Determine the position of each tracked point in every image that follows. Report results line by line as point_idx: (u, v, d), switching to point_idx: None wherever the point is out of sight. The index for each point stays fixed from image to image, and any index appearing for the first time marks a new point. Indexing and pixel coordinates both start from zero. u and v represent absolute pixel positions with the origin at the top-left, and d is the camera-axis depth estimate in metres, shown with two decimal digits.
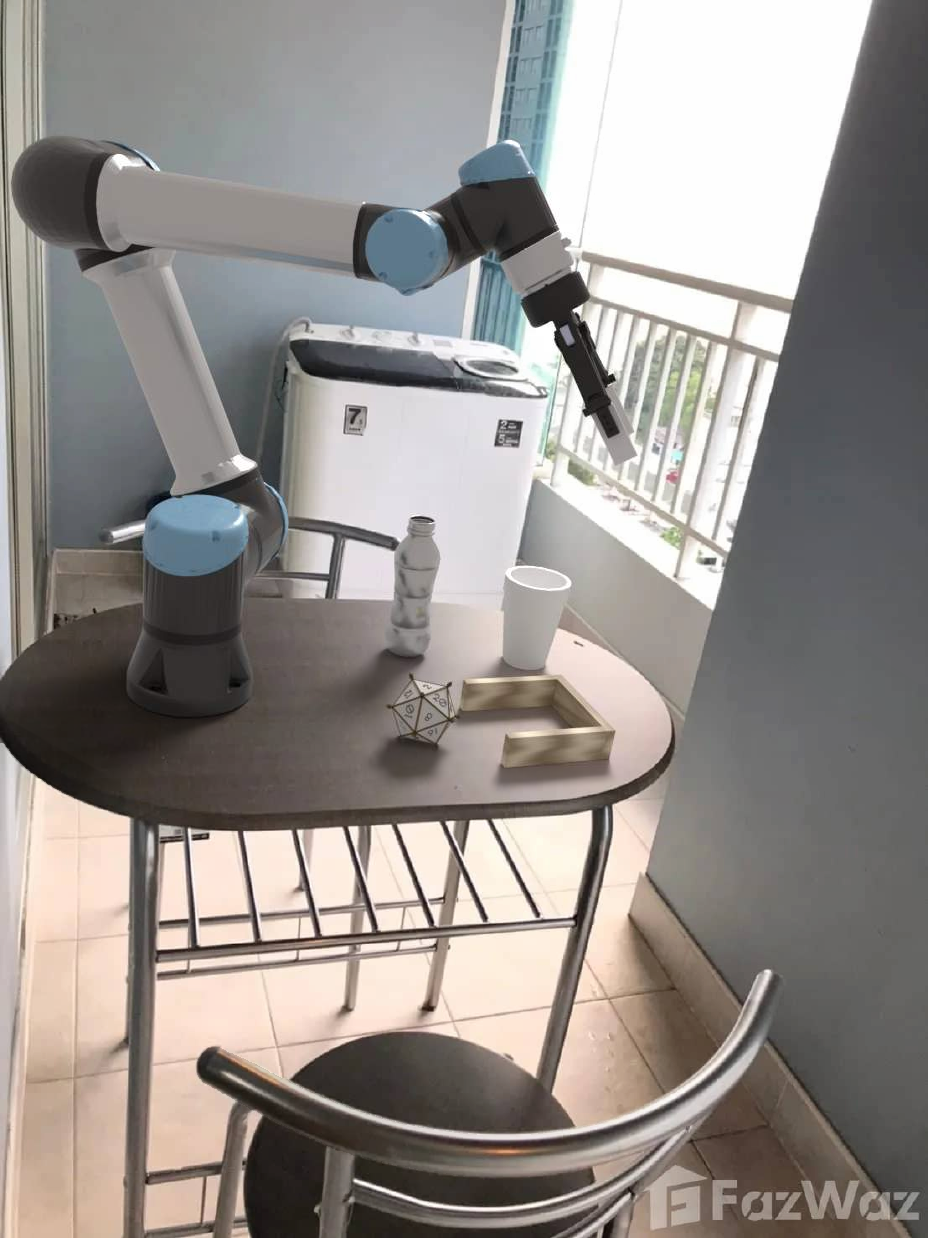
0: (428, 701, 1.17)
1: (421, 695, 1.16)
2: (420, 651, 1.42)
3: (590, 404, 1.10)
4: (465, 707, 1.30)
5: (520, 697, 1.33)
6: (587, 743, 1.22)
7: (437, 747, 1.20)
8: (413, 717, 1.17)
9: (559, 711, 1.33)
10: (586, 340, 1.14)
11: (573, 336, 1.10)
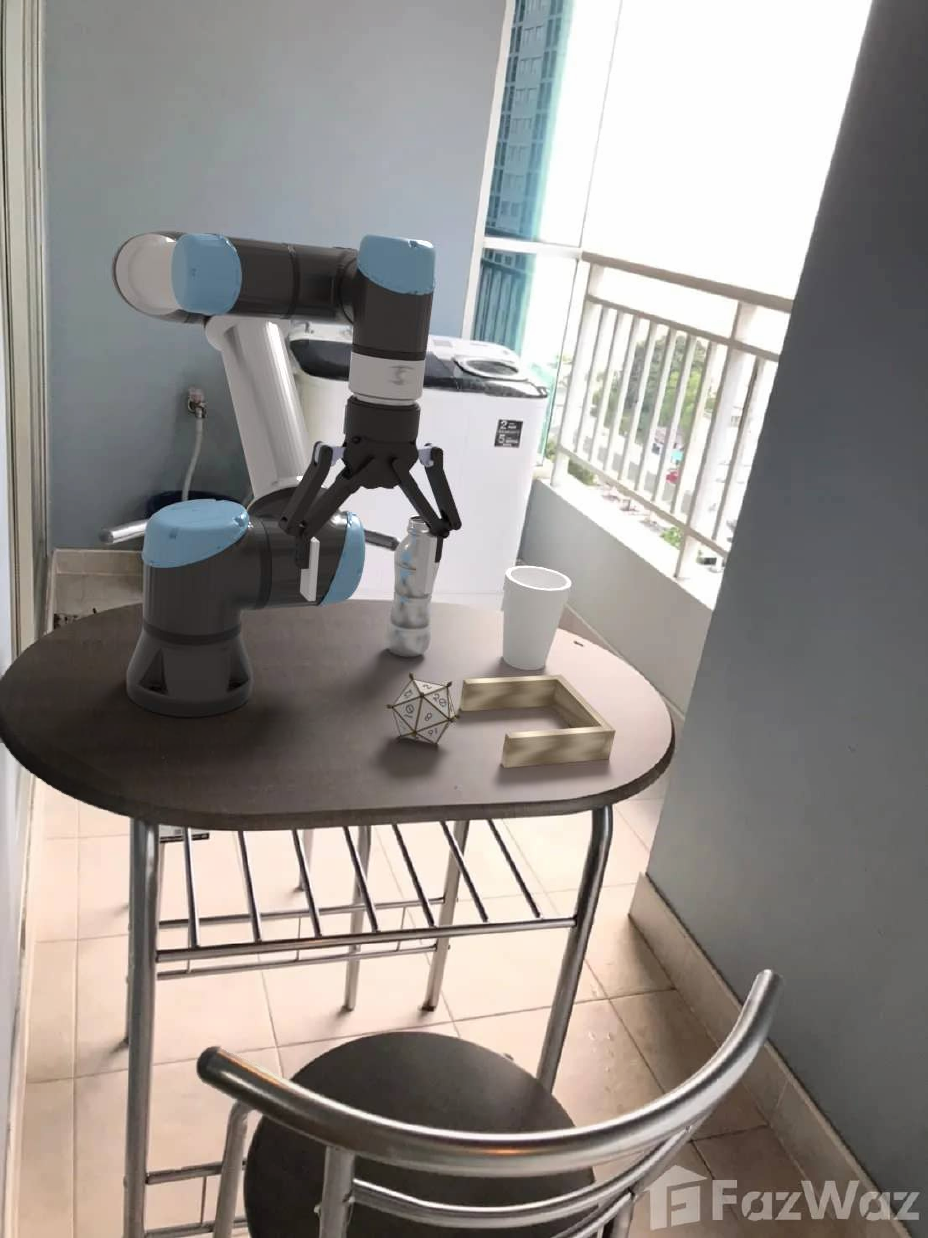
0: (428, 701, 1.17)
1: (421, 695, 1.16)
2: (420, 651, 1.42)
3: (280, 523, 1.03)
4: (465, 707, 1.30)
5: (520, 697, 1.33)
6: (587, 743, 1.22)
7: (437, 747, 1.20)
8: (413, 717, 1.17)
9: (559, 711, 1.33)
10: (356, 474, 1.03)
11: (318, 458, 1.01)
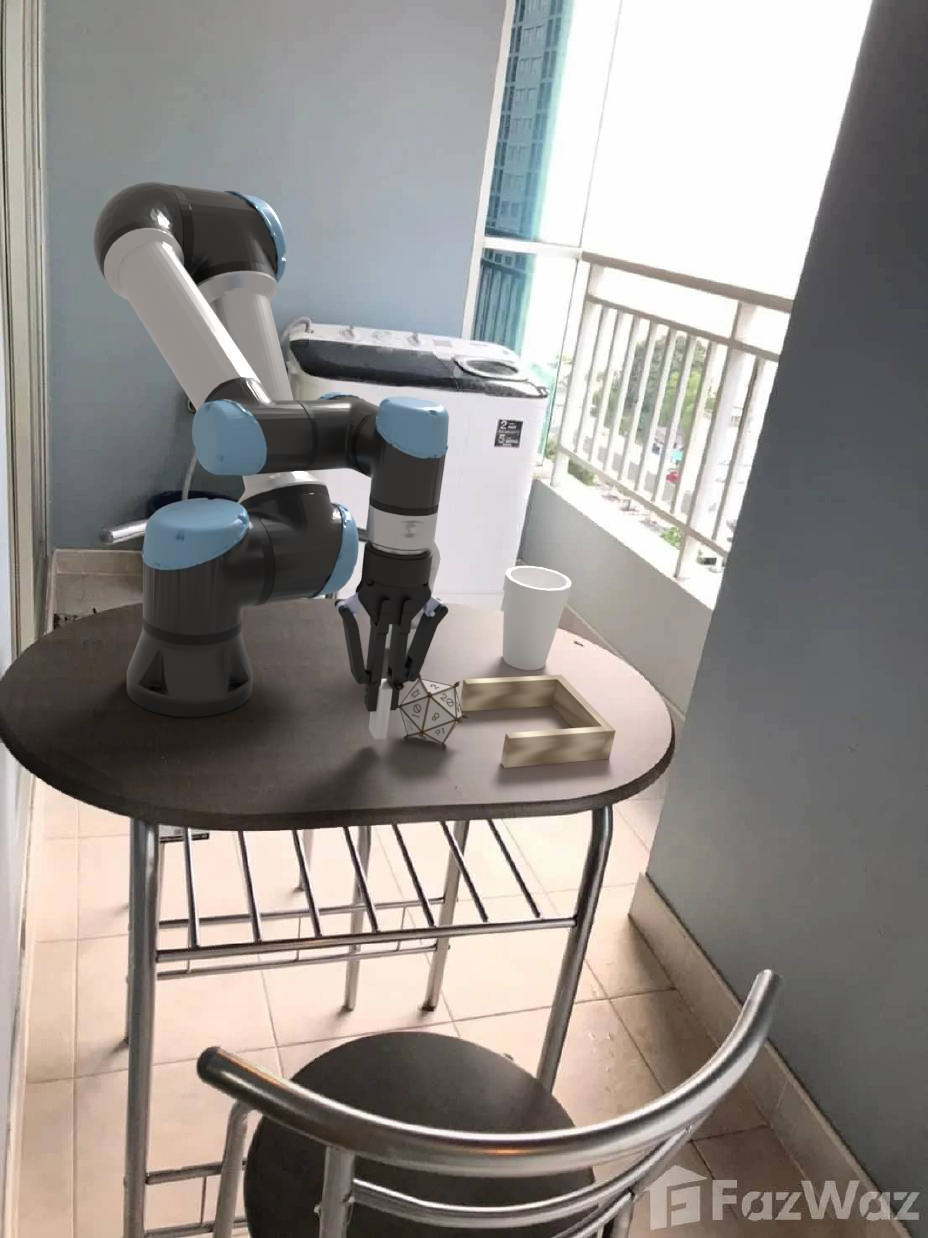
0: (435, 701, 1.17)
1: (428, 695, 1.16)
2: None
3: (352, 671, 1.15)
4: (465, 707, 1.30)
5: (520, 697, 1.33)
6: (587, 743, 1.22)
7: (444, 747, 1.20)
8: (420, 717, 1.17)
9: (559, 711, 1.33)
10: (378, 620, 1.11)
11: None
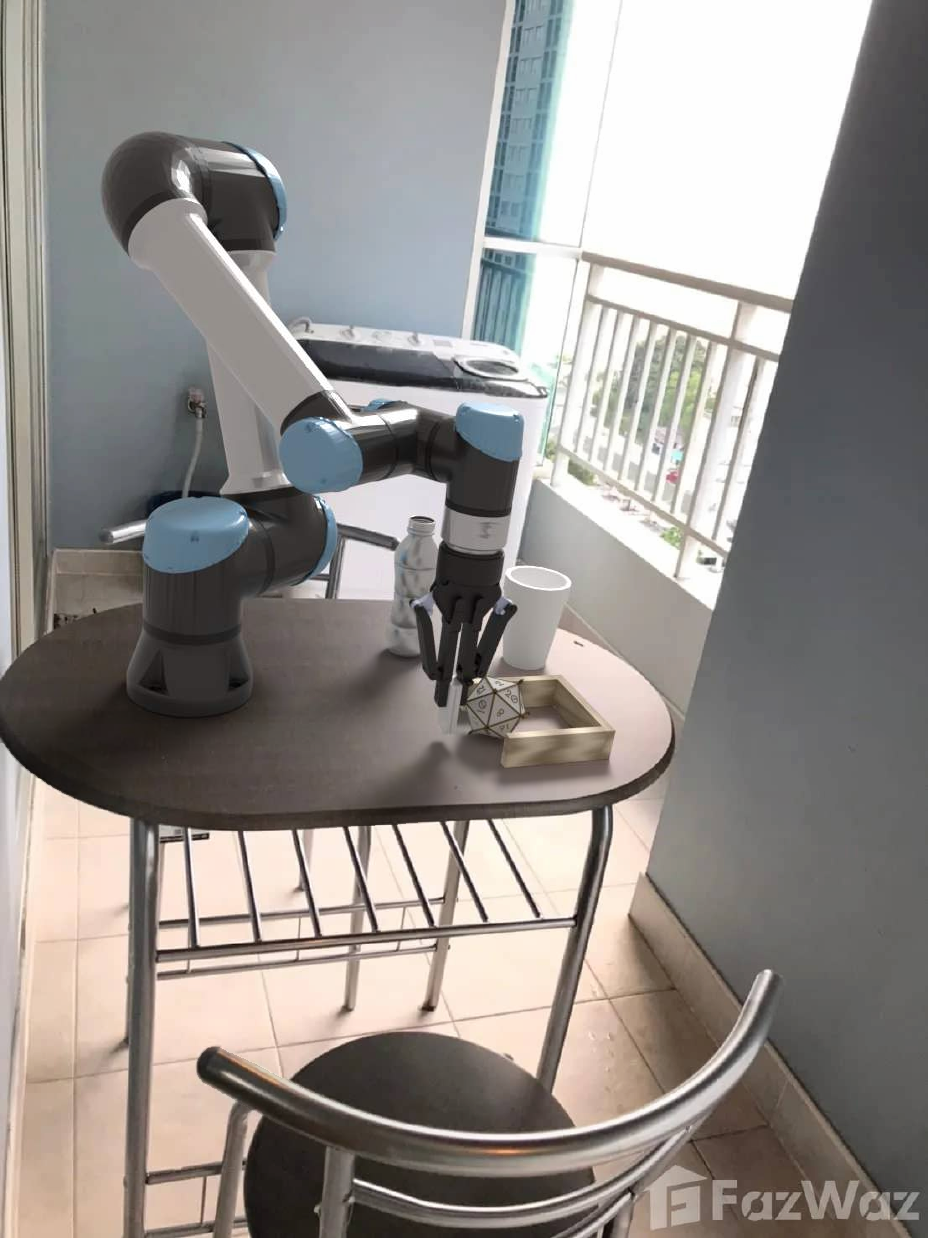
0: (500, 697, 1.20)
1: (494, 691, 1.20)
2: None
3: (424, 667, 1.18)
4: (465, 707, 1.30)
5: None
6: (587, 743, 1.22)
7: None
8: (485, 712, 1.20)
9: (559, 711, 1.33)
10: (451, 618, 1.14)
11: (417, 617, 1.14)
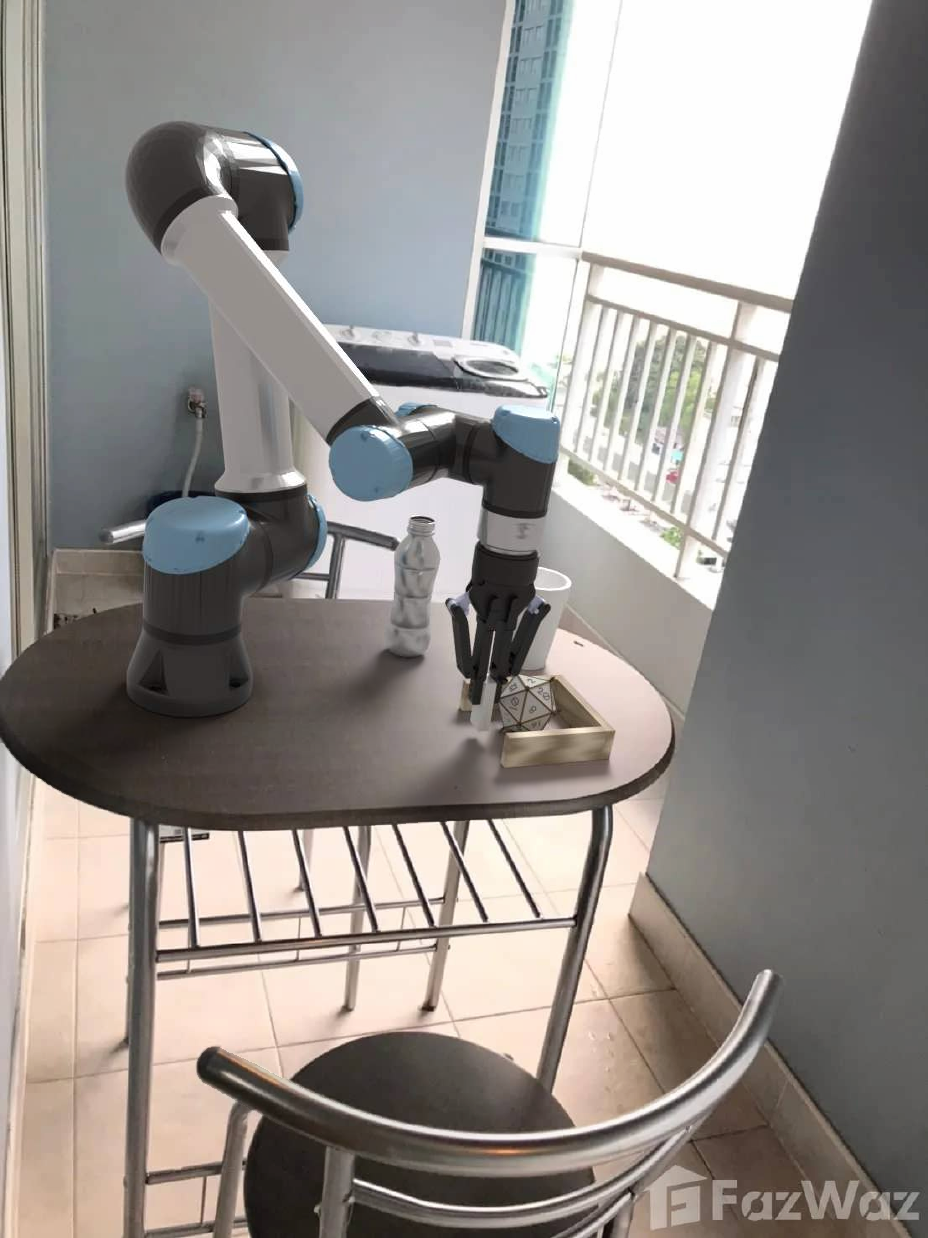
0: (533, 694, 1.22)
1: (526, 688, 1.22)
2: (420, 651, 1.42)
3: (458, 666, 1.20)
4: (465, 707, 1.30)
5: None
6: (587, 743, 1.22)
7: None
8: (518, 709, 1.22)
9: None
10: (487, 617, 1.16)
11: (454, 616, 1.15)
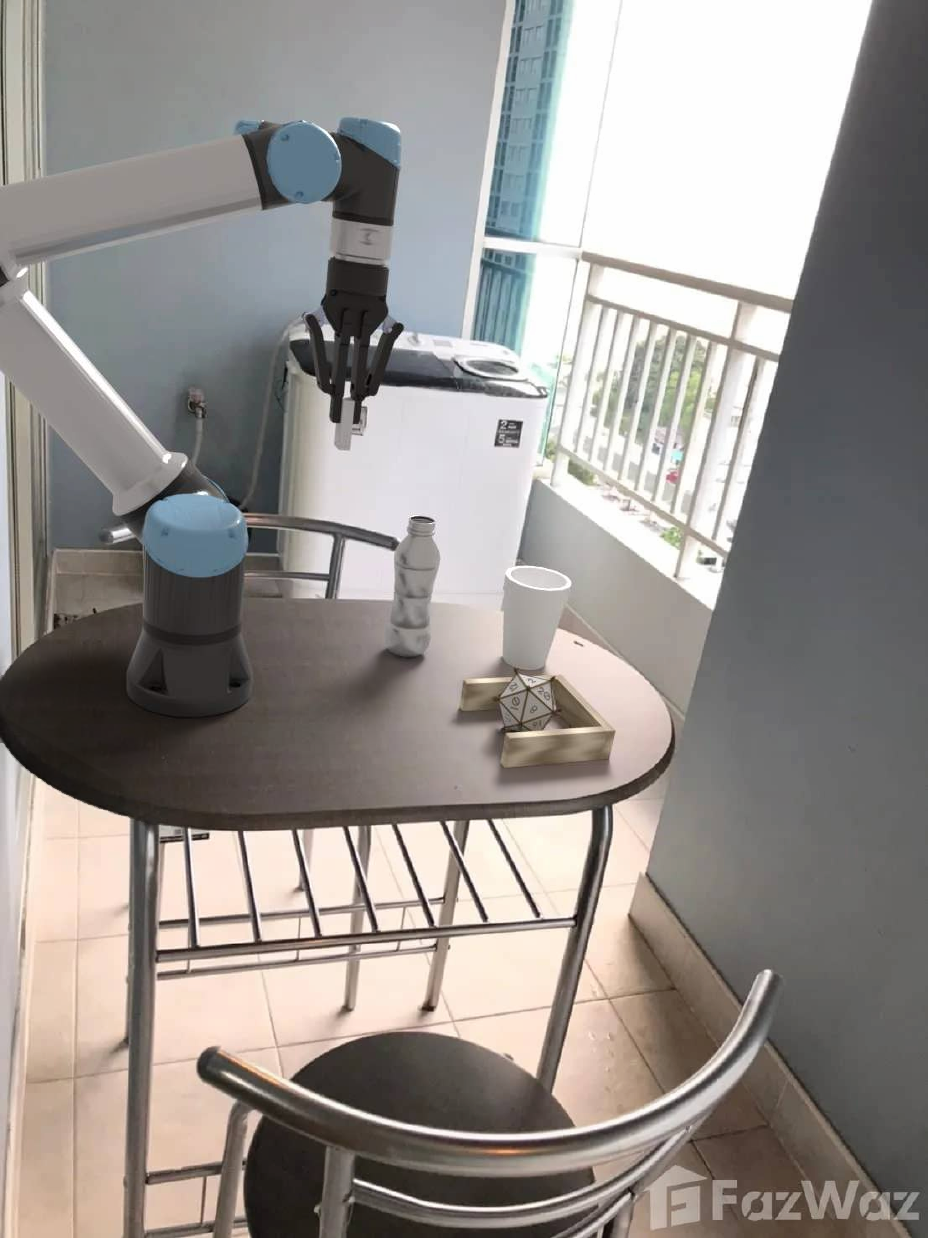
0: (533, 694, 1.22)
1: (527, 688, 1.22)
2: (420, 651, 1.42)
3: (318, 383, 1.29)
4: (465, 707, 1.30)
5: None
6: (587, 743, 1.22)
7: None
8: (519, 709, 1.23)
9: None
10: (341, 330, 1.25)
11: (309, 327, 1.24)
